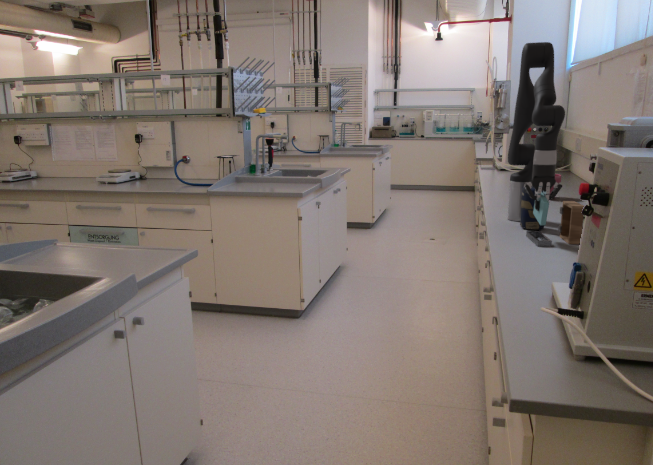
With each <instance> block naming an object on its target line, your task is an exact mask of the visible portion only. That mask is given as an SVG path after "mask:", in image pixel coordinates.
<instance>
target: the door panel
mask: <svg viewBox="0 0 653 465" xmlns="http://www.w3.org/2000/svg"><path fill="white" fill-rule="evenodd" d="M549 208H550V200H549V201H548V200H547V198H546V197H545V195H544V194H543V193H542V192H541V196H540V208H539V211H537V210H536V209H535V204H534V210H533V214H534V216H535V217H536V219H537V221H538V222H539V224H540V225H545V226H546V225H547V218H548V214H549Z"/></svg>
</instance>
